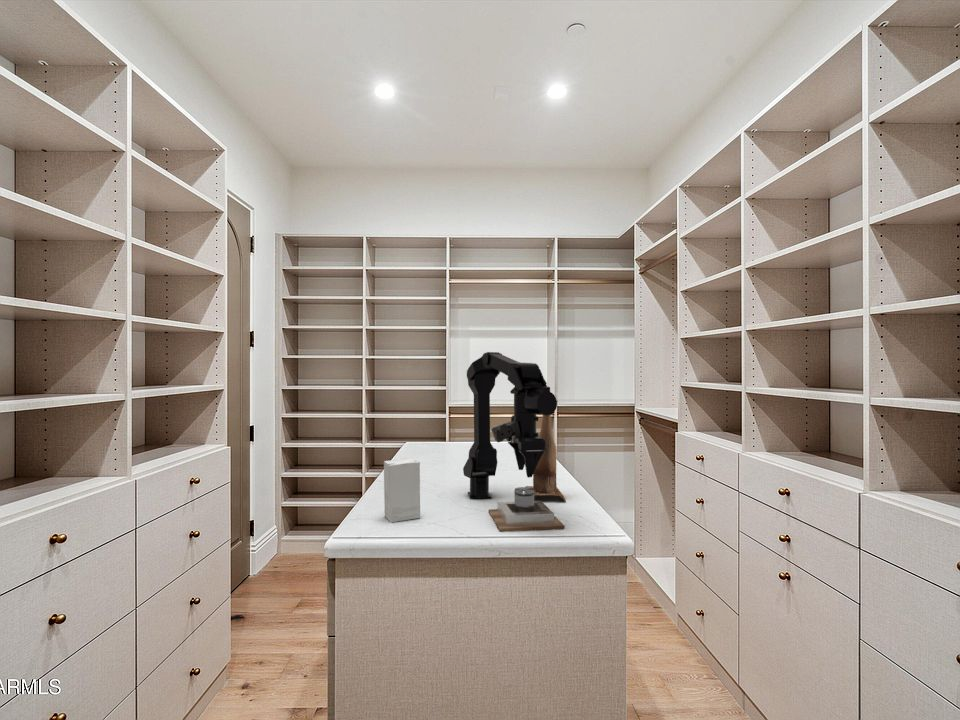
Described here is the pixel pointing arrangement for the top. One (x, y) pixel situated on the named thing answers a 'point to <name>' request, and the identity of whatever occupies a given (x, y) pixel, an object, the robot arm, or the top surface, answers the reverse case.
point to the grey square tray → (525, 514)
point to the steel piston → (524, 499)
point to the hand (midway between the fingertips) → (524, 473)
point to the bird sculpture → (546, 464)
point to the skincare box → (402, 489)
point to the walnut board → (503, 527)
